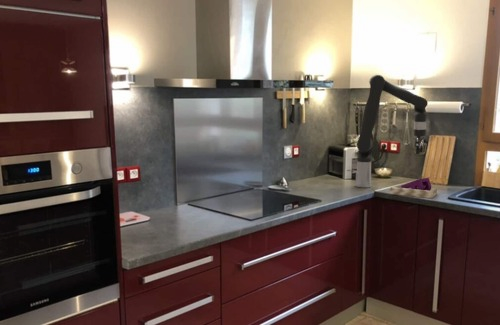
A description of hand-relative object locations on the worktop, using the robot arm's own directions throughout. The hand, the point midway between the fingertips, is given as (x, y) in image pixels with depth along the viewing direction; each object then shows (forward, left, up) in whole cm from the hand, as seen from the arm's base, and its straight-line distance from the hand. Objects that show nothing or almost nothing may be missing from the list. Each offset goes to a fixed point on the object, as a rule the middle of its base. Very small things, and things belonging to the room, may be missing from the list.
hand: (419, 153), depth 296 cm
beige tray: (+1, -19, -24) cm, 30 cm away
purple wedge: (0, -11, -24) cm, 26 cm away
